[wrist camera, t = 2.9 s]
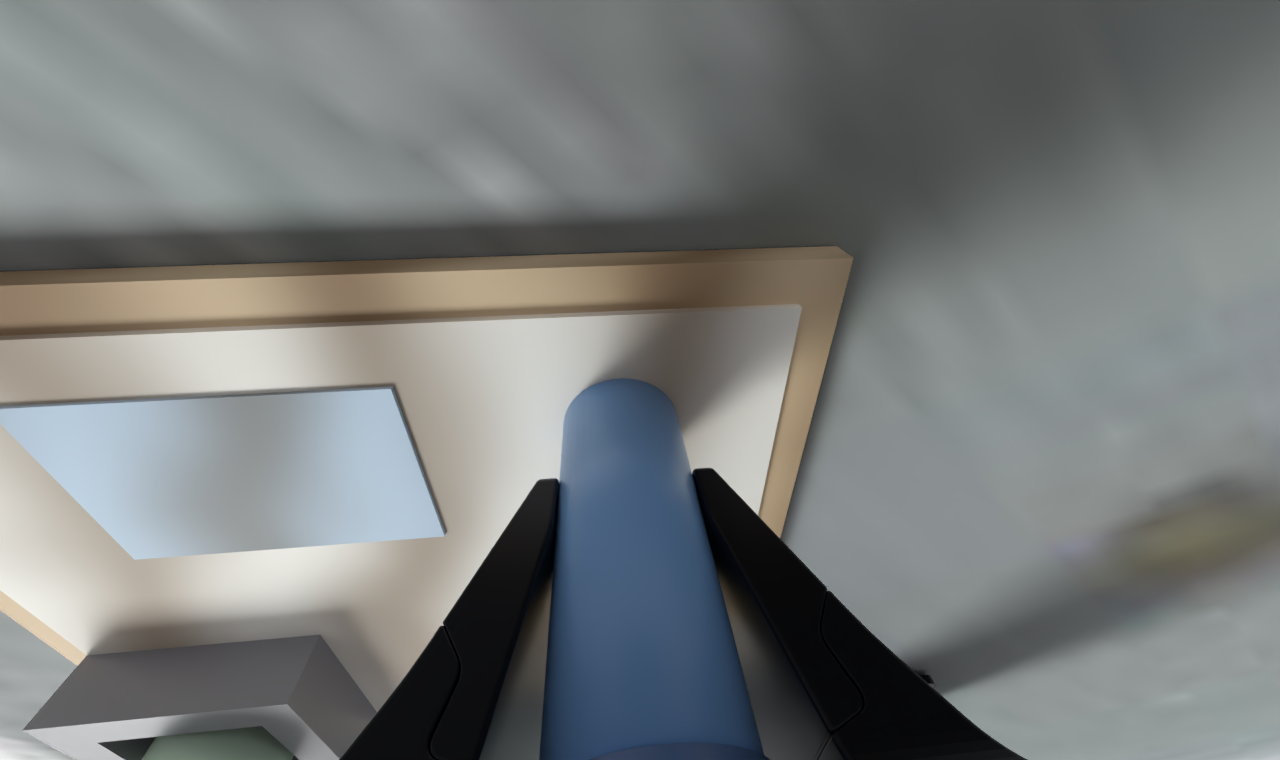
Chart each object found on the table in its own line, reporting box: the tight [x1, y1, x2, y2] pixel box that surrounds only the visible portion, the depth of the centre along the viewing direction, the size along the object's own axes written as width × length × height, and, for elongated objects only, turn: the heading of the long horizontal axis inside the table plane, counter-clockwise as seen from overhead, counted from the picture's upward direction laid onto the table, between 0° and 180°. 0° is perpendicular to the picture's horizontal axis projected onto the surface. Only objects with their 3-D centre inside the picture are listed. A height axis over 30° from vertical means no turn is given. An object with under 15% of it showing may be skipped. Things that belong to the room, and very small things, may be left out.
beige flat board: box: [0, 246, 854, 712], centre depth 15 cm, size 23×20×1 cm
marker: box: [539, 379, 770, 760], centre depth 8 cm, size 3×3×8 cm
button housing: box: [22, 635, 377, 760], centre depth 16 cm, size 7×7×2 cm
